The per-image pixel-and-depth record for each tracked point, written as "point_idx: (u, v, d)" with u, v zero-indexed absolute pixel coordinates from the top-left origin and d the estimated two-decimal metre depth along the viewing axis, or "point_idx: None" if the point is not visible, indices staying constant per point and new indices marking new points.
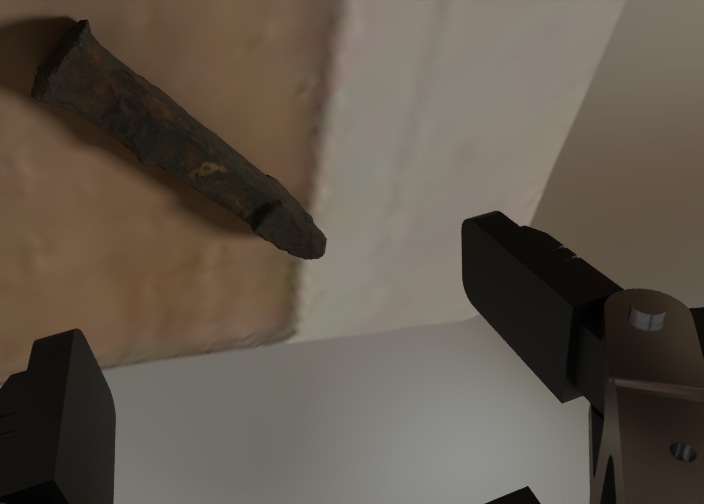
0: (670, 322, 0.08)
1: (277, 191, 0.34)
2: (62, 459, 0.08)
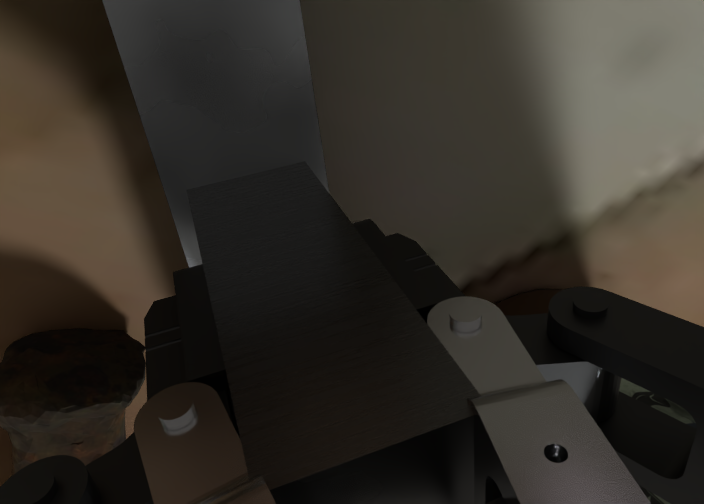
0: (481, 329, 0.09)
1: None
2: None
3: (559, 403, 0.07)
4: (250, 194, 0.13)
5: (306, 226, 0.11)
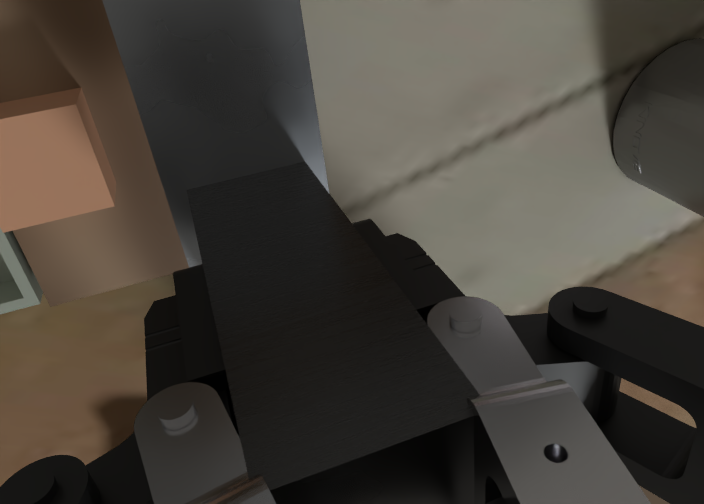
0: (481, 329, 0.09)
1: None
2: None
3: (559, 403, 0.07)
4: (250, 194, 0.13)
5: (306, 226, 0.11)
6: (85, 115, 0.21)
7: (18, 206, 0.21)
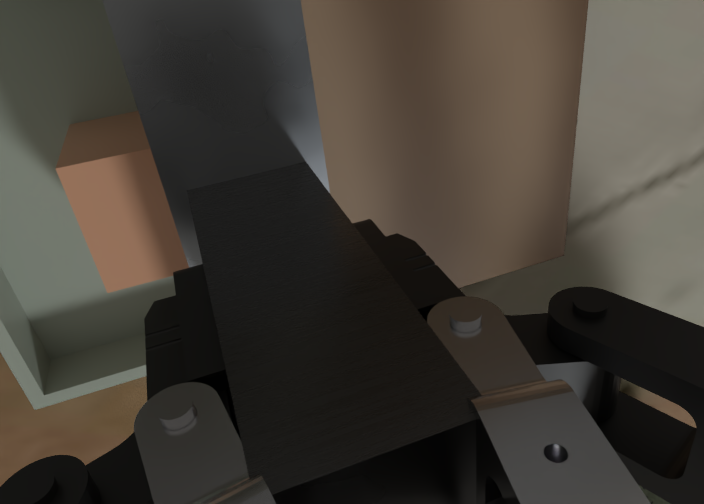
0: (481, 329, 0.09)
1: None
2: None
3: (559, 403, 0.07)
4: (251, 195, 0.13)
5: (307, 227, 0.11)
6: (107, 183, 0.15)
7: None
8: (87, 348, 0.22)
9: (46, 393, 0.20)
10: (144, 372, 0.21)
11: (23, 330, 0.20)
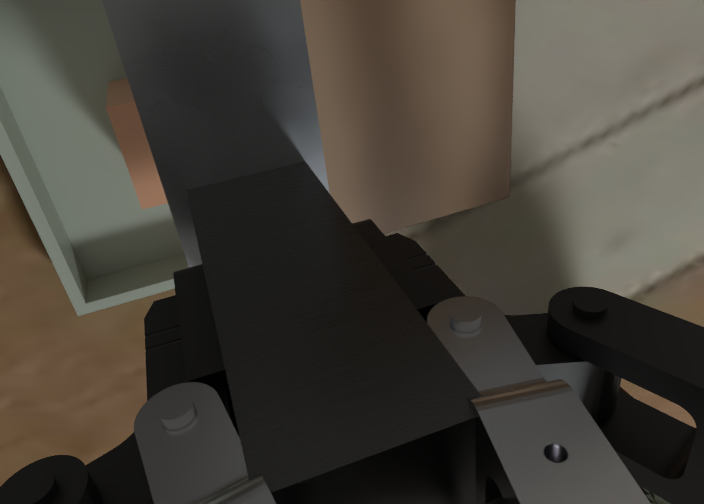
0: (481, 329, 0.09)
1: None
2: None
3: (559, 403, 0.07)
4: (250, 194, 0.13)
5: (306, 226, 0.11)
6: None
7: None
8: (117, 271, 0.27)
9: (87, 303, 0.25)
10: (165, 287, 0.26)
11: (69, 251, 0.25)
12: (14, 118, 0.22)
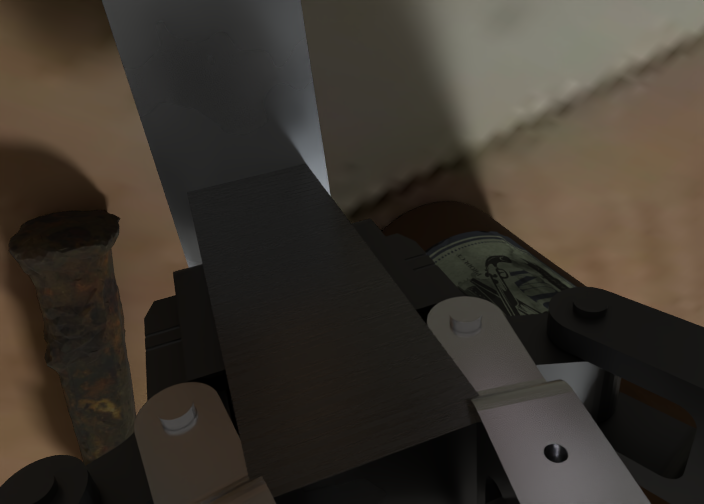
0: (481, 329, 0.09)
1: None
2: None
3: (559, 403, 0.07)
4: (251, 197, 0.13)
5: (307, 229, 0.11)
6: None
7: None
8: None
9: None
10: None
11: None
12: None
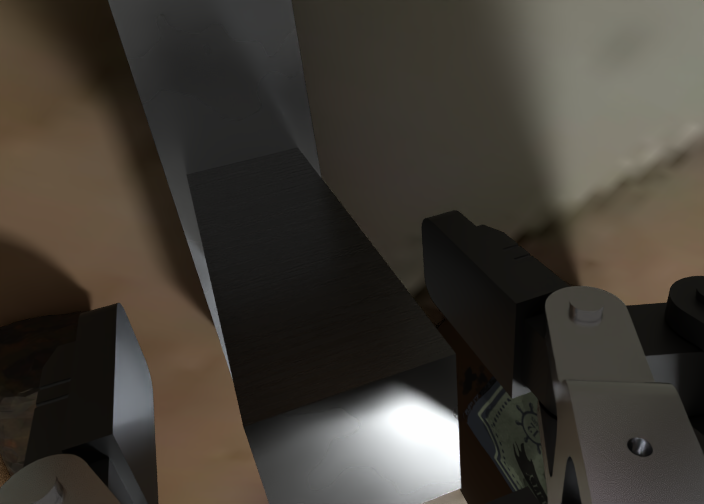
0: (606, 318, 0.09)
1: None
2: (117, 418, 0.08)
3: (658, 403, 0.07)
4: (246, 177, 0.14)
5: (296, 204, 0.12)
6: None
7: None
8: None
9: None
10: None
11: None
12: None
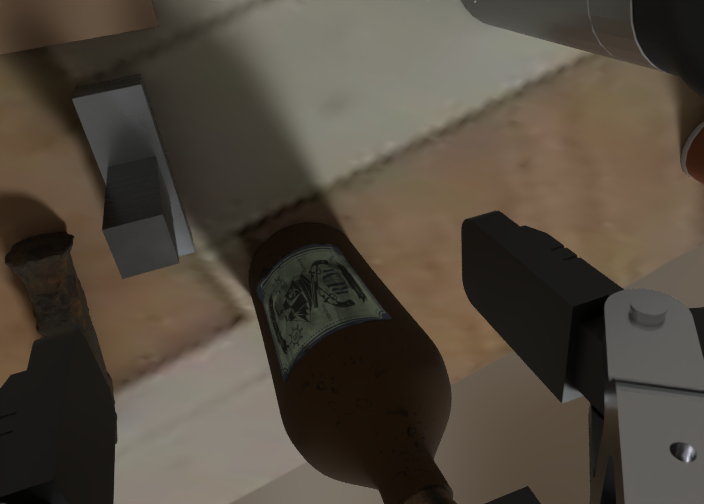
0: (670, 322, 0.08)
1: None
2: (62, 459, 0.08)
3: None
4: (130, 168, 0.35)
5: (143, 177, 0.33)
6: None
7: None
8: None
9: None
10: None
11: None
12: None
